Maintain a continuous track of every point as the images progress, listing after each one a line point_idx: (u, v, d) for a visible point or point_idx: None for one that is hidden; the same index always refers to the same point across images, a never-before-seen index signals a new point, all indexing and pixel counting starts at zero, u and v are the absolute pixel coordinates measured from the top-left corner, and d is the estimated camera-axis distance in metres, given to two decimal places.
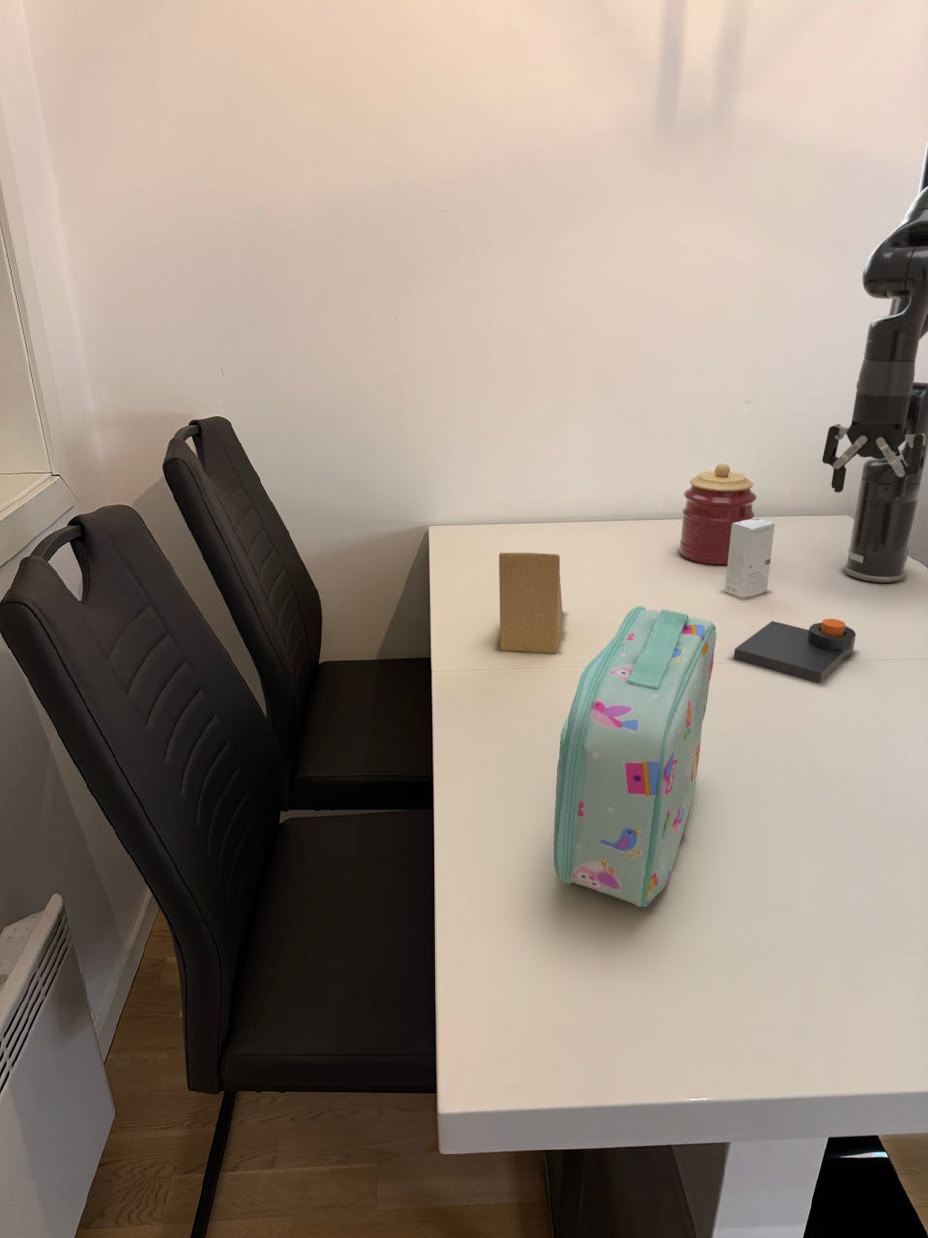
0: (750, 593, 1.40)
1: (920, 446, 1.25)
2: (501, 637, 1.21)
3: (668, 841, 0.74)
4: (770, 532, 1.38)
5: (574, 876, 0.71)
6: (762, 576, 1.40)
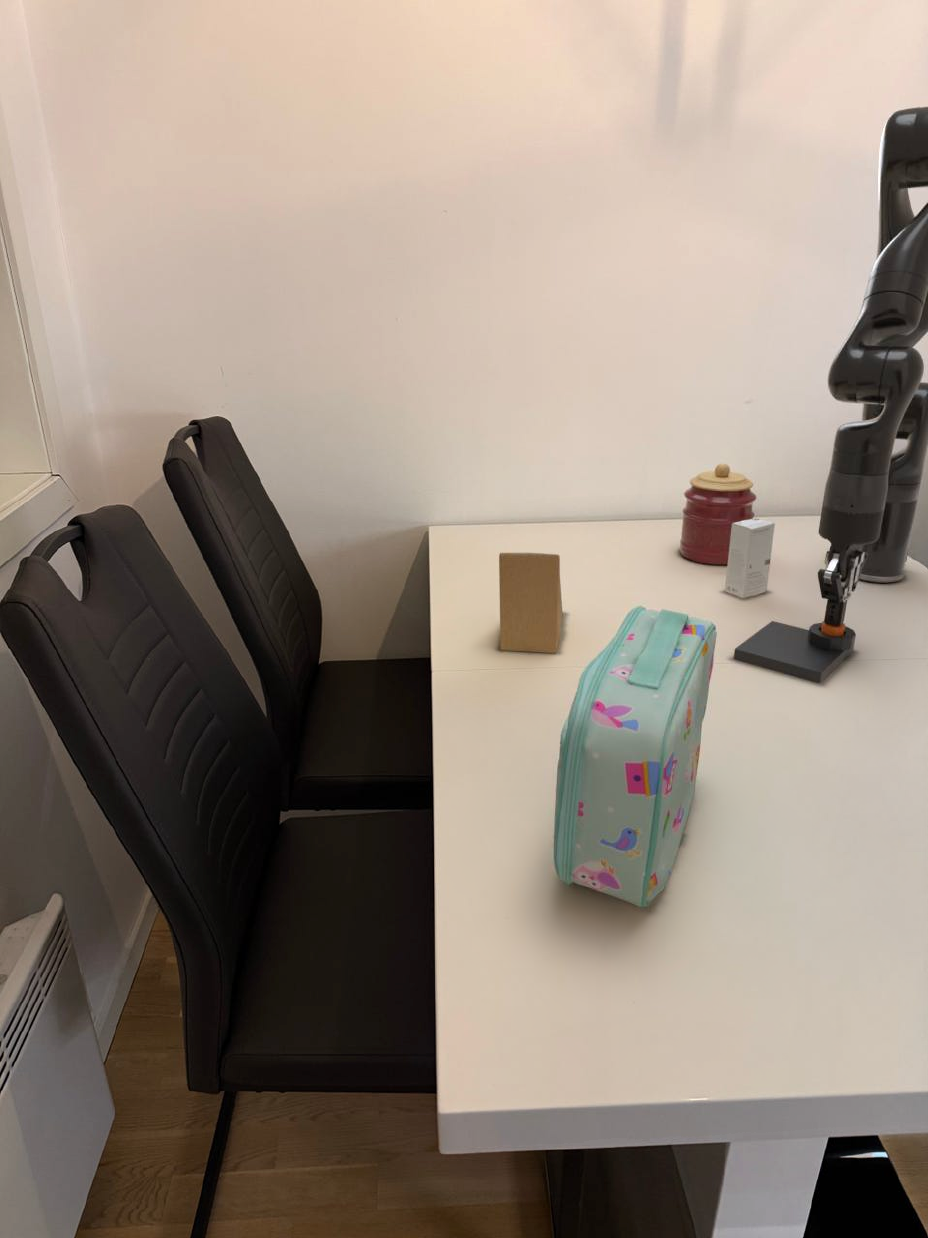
0: (750, 593, 1.40)
1: (819, 581, 1.12)
2: (501, 637, 1.21)
3: (668, 841, 0.74)
4: (770, 532, 1.38)
5: (574, 876, 0.71)
6: (762, 576, 1.40)
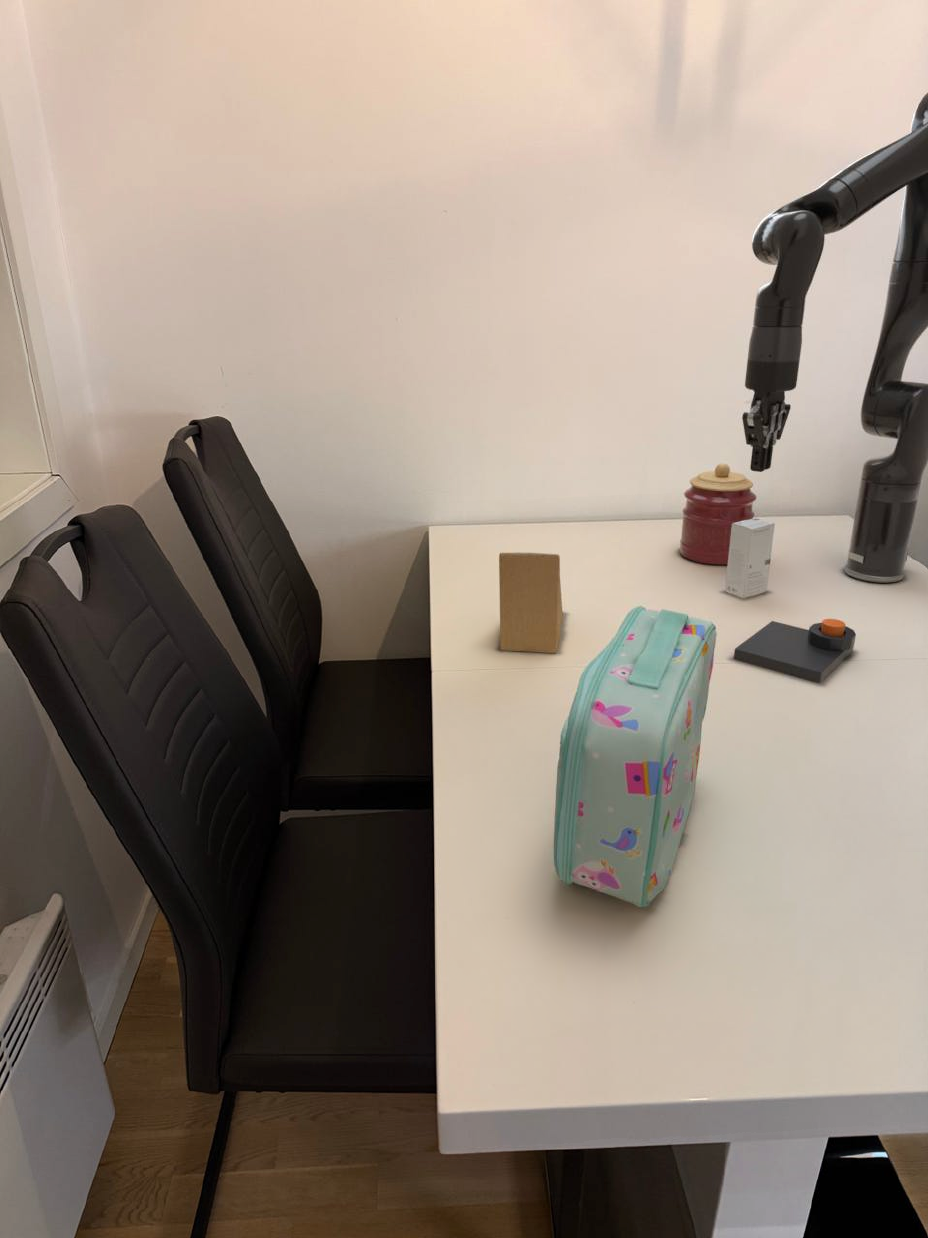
0: (750, 593, 1.40)
1: (743, 424, 1.28)
2: (501, 637, 1.21)
3: (668, 841, 0.74)
4: (770, 532, 1.38)
5: (574, 876, 0.71)
6: (762, 576, 1.40)
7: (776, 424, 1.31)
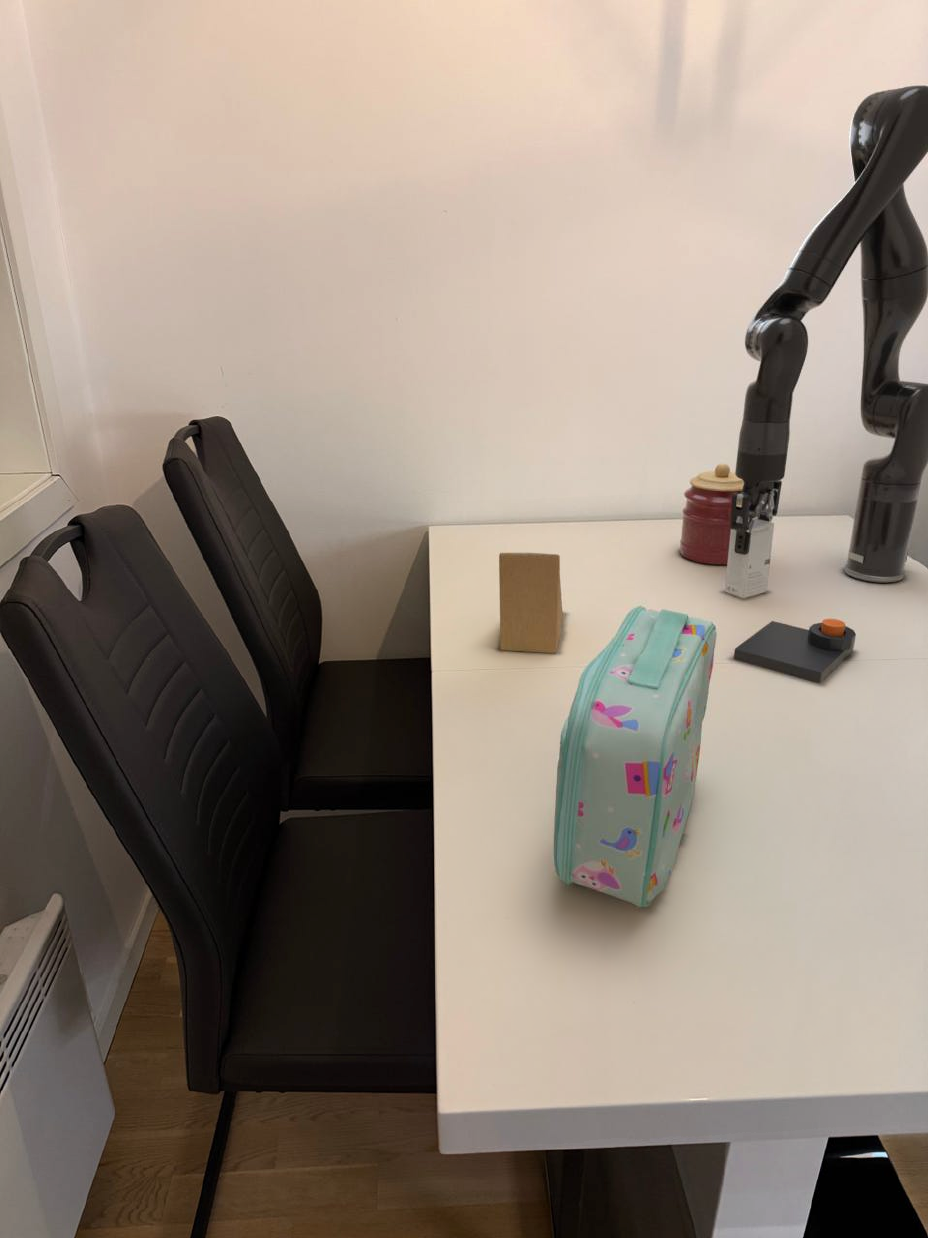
0: (750, 593, 1.40)
1: (732, 504, 1.32)
2: (501, 637, 1.21)
3: (668, 841, 0.74)
4: (769, 532, 1.38)
5: (574, 876, 0.71)
6: (762, 576, 1.40)
7: (769, 508, 1.38)
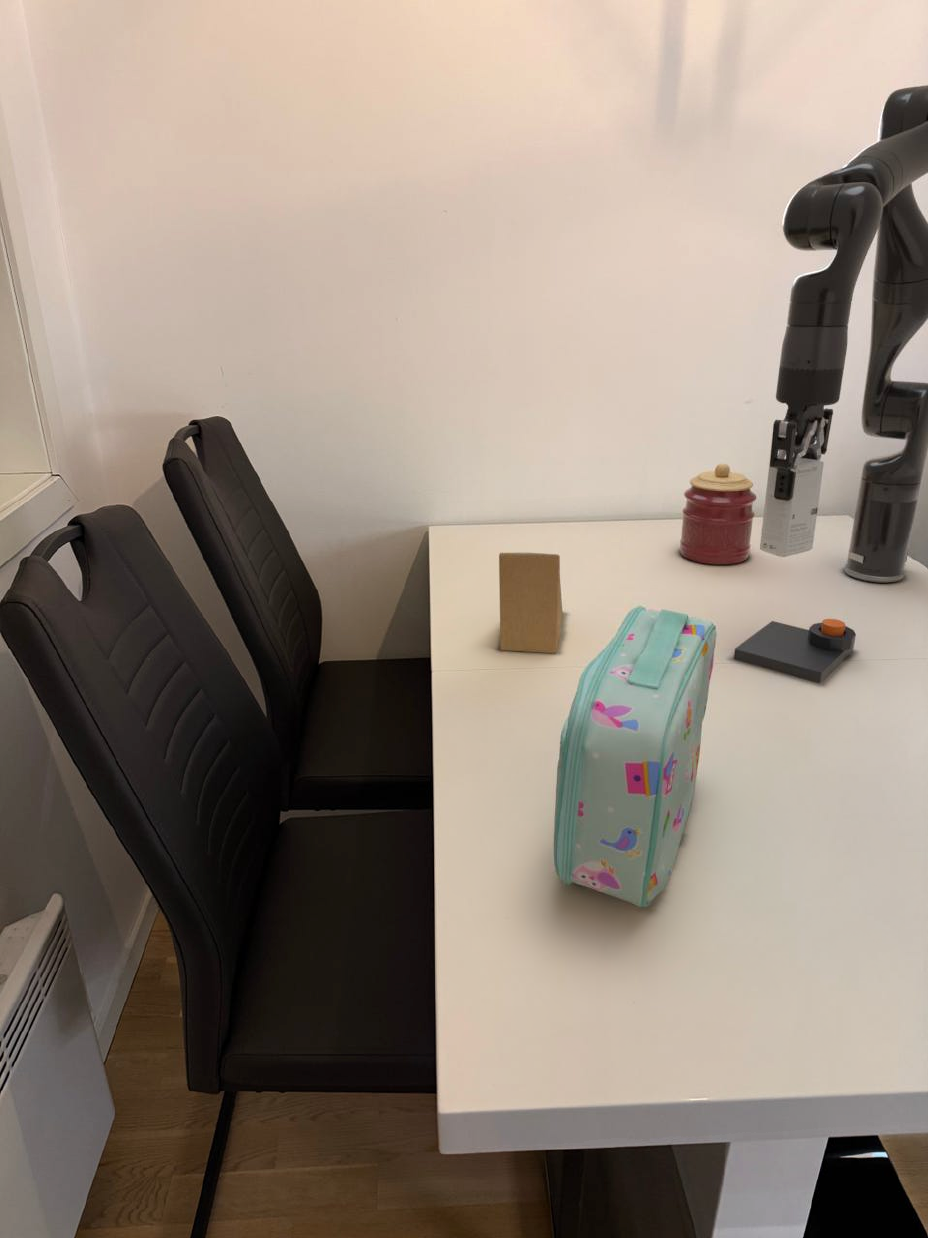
0: (792, 551, 1.11)
1: (773, 434, 1.04)
2: (501, 637, 1.21)
3: (668, 841, 0.74)
4: (817, 474, 1.09)
5: (574, 876, 0.71)
6: (807, 529, 1.11)
7: (818, 442, 1.09)
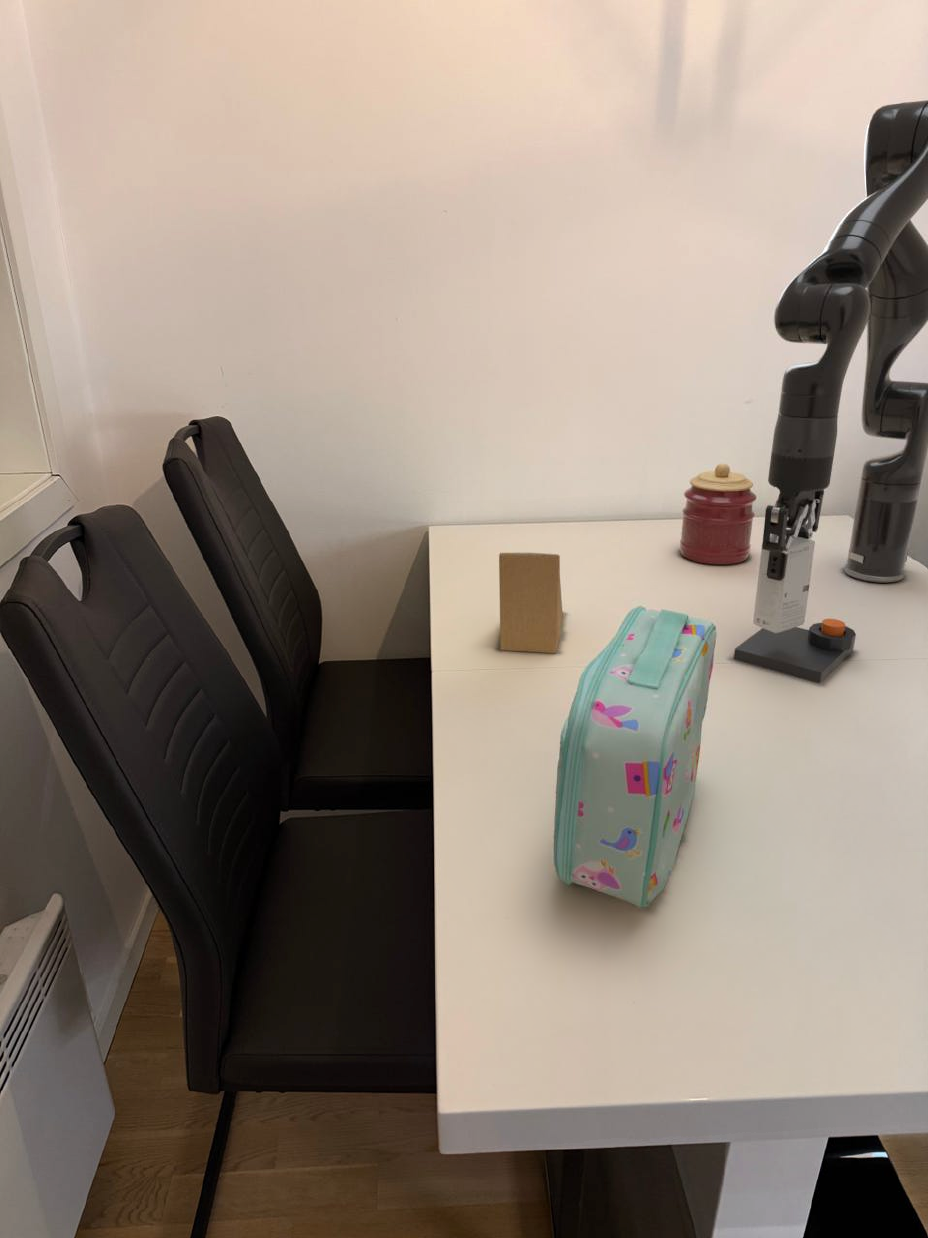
0: (784, 627, 1.14)
1: (765, 519, 1.07)
2: (501, 637, 1.21)
3: (668, 841, 0.74)
4: (809, 553, 1.12)
5: (574, 876, 0.71)
6: (799, 606, 1.14)
7: (809, 523, 1.12)
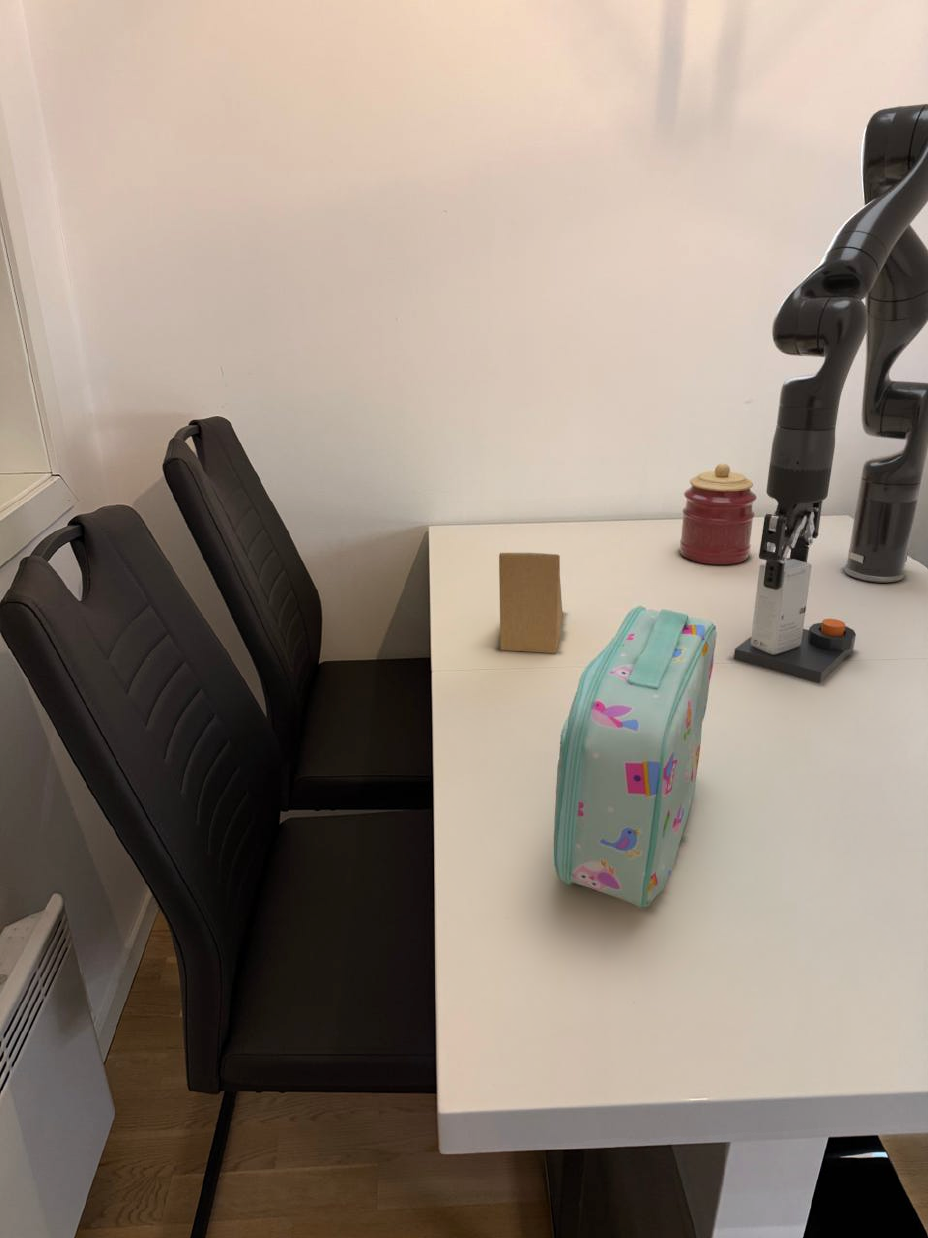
0: (781, 648, 1.15)
1: (763, 527, 1.07)
2: (501, 637, 1.21)
3: (668, 841, 0.74)
4: (806, 576, 1.14)
5: (574, 876, 0.71)
6: (796, 628, 1.16)
7: (808, 532, 1.13)
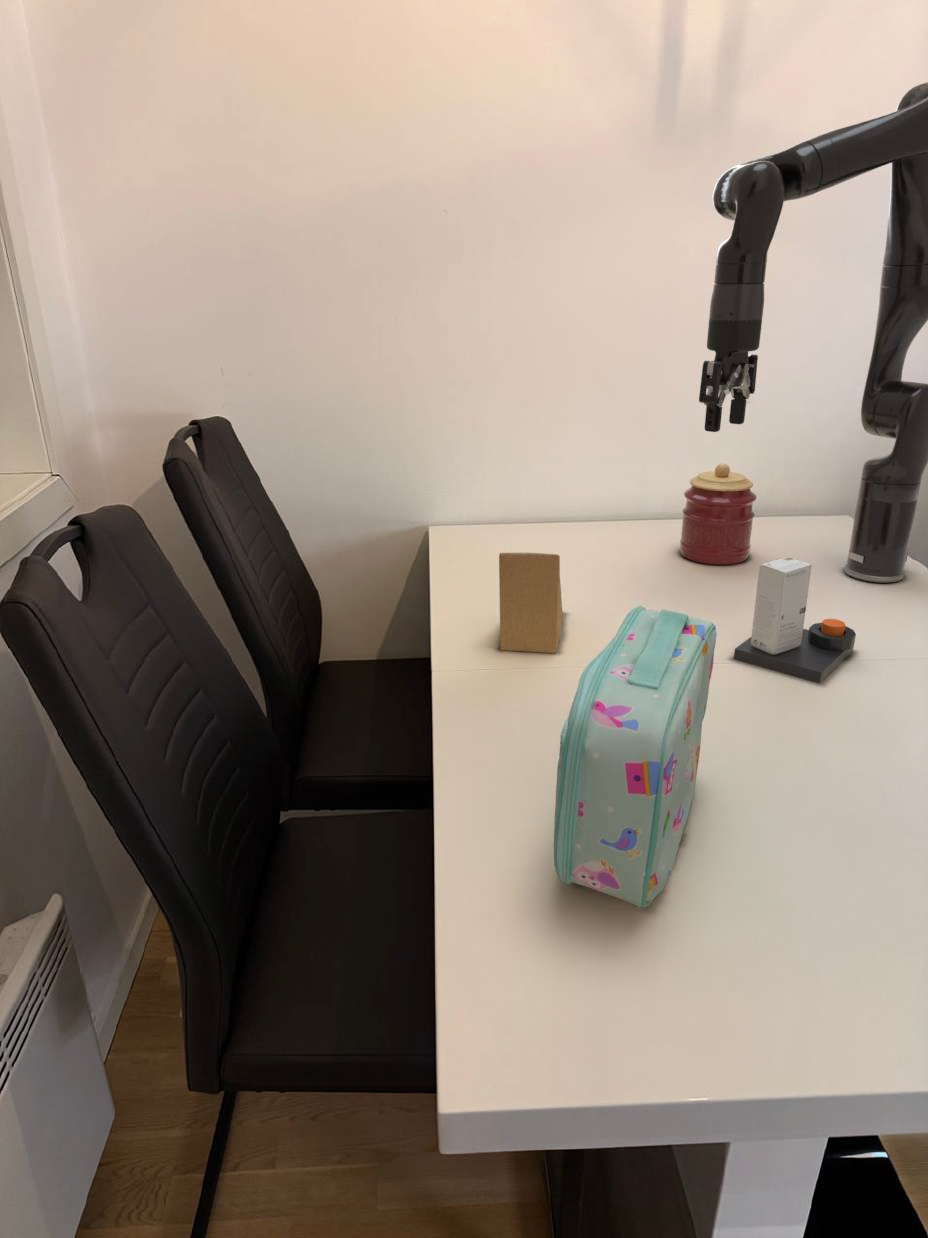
0: (781, 648, 1.15)
1: (702, 373, 1.23)
2: (501, 637, 1.21)
3: (668, 841, 0.74)
4: (806, 576, 1.14)
5: (574, 876, 0.71)
6: (796, 628, 1.16)
7: (744, 384, 1.28)
